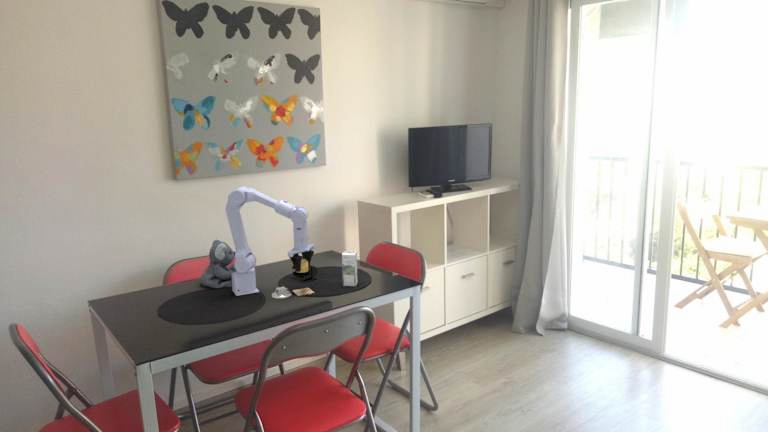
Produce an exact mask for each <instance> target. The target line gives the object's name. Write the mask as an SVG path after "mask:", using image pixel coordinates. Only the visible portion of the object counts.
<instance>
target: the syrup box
mask: <svg viewBox="0 0 768 432" xmlns="http://www.w3.org/2000/svg"><path fill="white" fill-rule="evenodd" d="M341 268H342V269H341V271H342V286H343V287H353V288H354V287H356V286H357V285H358V252H357V250H355V251H354V250H343V252H342V254H341Z"/></svg>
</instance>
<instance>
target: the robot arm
mask: <svg viewBox="0 0 768 432" xmlns="http://www.w3.org/2000/svg"><path fill="white" fill-rule="evenodd" d="M227 198H228V199H227V201H226V205H225V213H226V217H227V222H228V225H229V228H230V233H231V236H232V241H233V245H234V249H235V251H234V252H235V258H234V260H235V261H234V263H235V269H236V270H237V272H235V273H232V287H231V288H232V290H231V291H232V292H233V293H234V295H235V296H236V297H237V296H244V295H250V294H255V293H260V290H259V289H258V288H257V280H256V269H255V265H256V264H257V257H256V255H254V253H253V250H252V248H251V247H249V243H248V240H247V235H246V231H245V227H244V223H243V220H242V215H241V212H240V210H241V209H242V207H244V205H245V203H251V202H257V203H259V204H262V205H264V206H267V207H269V208H271V209H273V210H274V211H275V213H276V214H278V215H280V216H282V217H284V218H287V219H290V220H291V221H292V223H293V226H292V229H293V231H292V232H293V248H291V250H289V251H287V257H288V258H289V259H290V261H291V262H292V266H293V265H294V268H295V269H294V271H297V272H300V270H301V260H302V259H306V260H307V261H308V268H309V266H310V265H311V261H312V258H313V256H314V254H315V251H314V250H315V243H314V244H313V243H309V237H308V236H309V234H308V233H309V231H308V230H309V229H308V220H307V219H308V217H309V211H308V210H307V209H306V208H304V207H303V206H299V205H297V204H295V205H294V204H292V203H290V202H288V200H287V199H284V200H283V199H280V200H277V199H274V198H272V197H270V196H268V195H266V194H265V193H262V192H260V191H258V190H256V189H255V188H254V187H249V186H248V185H241V186H239V187H238V188H235V189H233V190H231V192H230V193H228V195H227ZM300 254H301V255H300Z"/></svg>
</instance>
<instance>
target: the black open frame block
mask: <svg viewBox="0 0 768 432" xmlns="http://www.w3.org/2000/svg"><path fill="white" fill-rule="evenodd" d="M291 268H292V270H293V271H292V276H293V277H292V278H293V279H294V280H297V281H299V282H302V283H304V282H305V283H308V281H309V282H312V281H314V279H316V278H317V276H318V271H319V270H318V268H317V267H316V265H315V266H314V265H312V264H310V266H309V268H308V272H304V273H299V272H296V271H295V268H294V265H293V264H292V267H291ZM311 280H312V281H311Z"/></svg>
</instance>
